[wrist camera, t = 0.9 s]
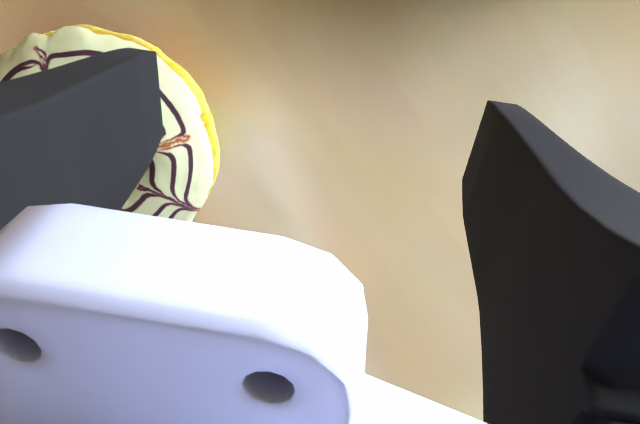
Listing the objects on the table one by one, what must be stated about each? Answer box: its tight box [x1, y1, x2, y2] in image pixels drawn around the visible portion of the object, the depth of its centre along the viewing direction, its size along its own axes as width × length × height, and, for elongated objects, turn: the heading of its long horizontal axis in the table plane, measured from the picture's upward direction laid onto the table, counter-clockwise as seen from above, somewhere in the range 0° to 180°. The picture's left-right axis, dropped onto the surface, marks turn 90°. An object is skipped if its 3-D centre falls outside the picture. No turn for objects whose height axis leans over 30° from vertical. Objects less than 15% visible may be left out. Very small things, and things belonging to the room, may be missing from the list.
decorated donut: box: [0, 24, 220, 222], centre depth 25 cm, size 10×11×4 cm
